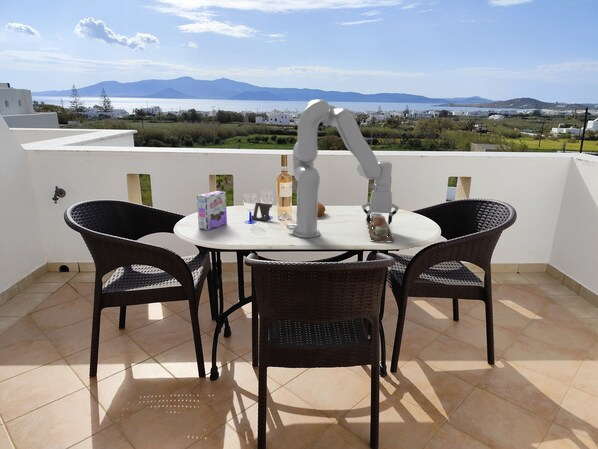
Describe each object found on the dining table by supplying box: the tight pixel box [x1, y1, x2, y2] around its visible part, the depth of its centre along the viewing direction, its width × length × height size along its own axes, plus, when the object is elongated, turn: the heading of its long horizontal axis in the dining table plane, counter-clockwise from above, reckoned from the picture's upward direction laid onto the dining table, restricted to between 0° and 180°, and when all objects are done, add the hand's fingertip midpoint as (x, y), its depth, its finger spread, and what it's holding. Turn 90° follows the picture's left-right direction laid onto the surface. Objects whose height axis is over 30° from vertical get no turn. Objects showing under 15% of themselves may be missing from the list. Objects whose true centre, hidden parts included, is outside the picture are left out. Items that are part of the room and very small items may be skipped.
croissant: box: [317, 201, 326, 218], centre depth 216 cm, size 14×16×8 cm
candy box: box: [196, 190, 228, 231], centre depth 189 cm, size 14×6×16 cm, turn 147°
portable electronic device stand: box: [250, 201, 273, 222], centre depth 205 cm, size 9×8×8 cm
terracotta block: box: [373, 215, 386, 229], centre depth 188 cm, size 5×5×7 cm
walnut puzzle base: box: [365, 212, 394, 242], centre depth 189 cm, size 10×32×5 cm, turn 175°
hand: (378, 223), depth 188 cm, fingers open, 9 cm apart
